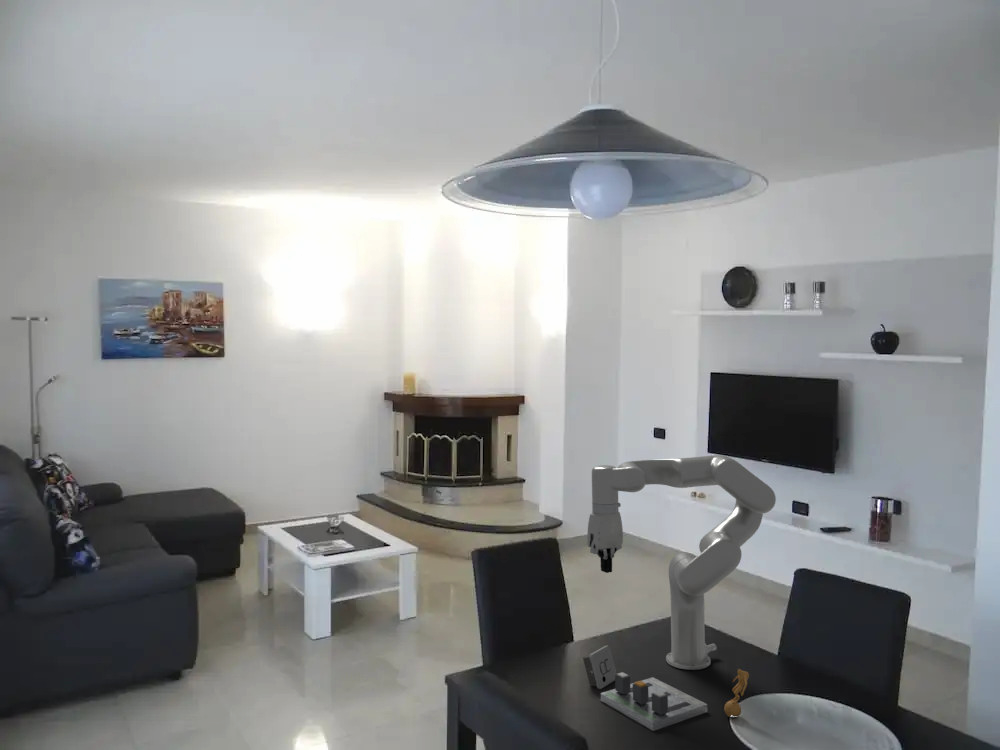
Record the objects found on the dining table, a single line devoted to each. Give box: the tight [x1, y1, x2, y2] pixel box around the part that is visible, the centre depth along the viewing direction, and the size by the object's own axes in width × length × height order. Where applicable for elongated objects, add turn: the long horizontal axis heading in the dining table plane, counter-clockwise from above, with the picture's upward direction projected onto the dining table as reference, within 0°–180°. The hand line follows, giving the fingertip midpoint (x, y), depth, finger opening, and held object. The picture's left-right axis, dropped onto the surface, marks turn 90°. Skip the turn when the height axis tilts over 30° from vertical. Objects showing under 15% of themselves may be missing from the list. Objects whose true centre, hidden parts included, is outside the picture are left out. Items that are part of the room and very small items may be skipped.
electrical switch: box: [582, 645, 618, 690], centre depth 219 cm, size 9×5×9 cm, turn 141°
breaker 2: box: [652, 691, 668, 715], centre depth 196 cm, size 2×3×4 cm
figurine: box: [723, 668, 750, 718], centre depth 197 cm, size 8×6×12 cm
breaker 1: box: [614, 671, 631, 694], centre depth 208 cm, size 2×3×4 cm
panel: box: [600, 676, 708, 732], centre depth 204 cm, size 18×20×2 cm
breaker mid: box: [633, 680, 649, 704], centre depth 202 cm, size 2×3×5 cm
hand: (606, 571), depth 231 cm, fingers closed
